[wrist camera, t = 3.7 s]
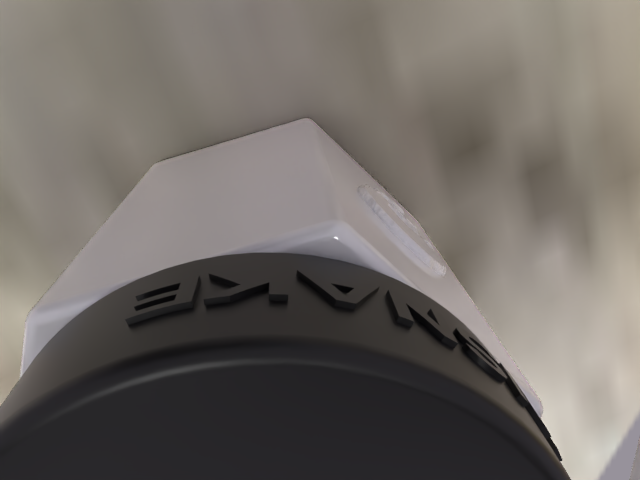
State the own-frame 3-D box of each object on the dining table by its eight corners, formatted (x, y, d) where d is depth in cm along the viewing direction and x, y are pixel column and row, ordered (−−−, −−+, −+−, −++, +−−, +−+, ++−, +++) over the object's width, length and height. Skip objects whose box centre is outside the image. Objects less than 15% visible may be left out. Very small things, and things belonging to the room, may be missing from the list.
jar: (471, 262, 19) (760, 627, 8) (290, 429, 20) (306, 932, 9) (252, 51, 16) (199, 130, 5) (66, 261, 18) (-288, 673, 7)
